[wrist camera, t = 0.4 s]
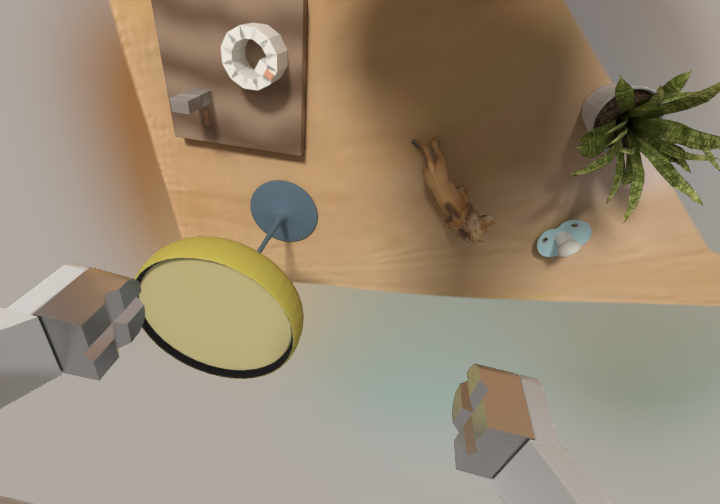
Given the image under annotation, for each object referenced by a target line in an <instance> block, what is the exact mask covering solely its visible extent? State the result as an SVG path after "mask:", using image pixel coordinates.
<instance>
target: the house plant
mask: <svg viewBox="0 0 720 504" xmlns="http://www.w3.org/2000/svg"><path fill="white" fill-rule="evenodd" d="M691 71H692V70H691ZM691 71H690V72H688V73H684V74H681V75H678V76H676V77H675V78H673V79H672V80H670V81H669V82H667V83H666V84H665V85H664V86H663V87H661V86H660V87H659V88H658V89H657V91H656V90H654V89H652V88H649V87H644V86H633V85H629V84H627V83H626V82H625V81H624V80H623V79H622V77H621V76H620V80H619V82H618V84H610V85H605V86H602V87H600V88H598V89H597V90H595V91H594V92H593V93H592V94H591V95H590V96H589V97H588V98H587V99H586V100H585V102H584V104H583V106H582V111H581V114H582V119H583V121H584V124H585V126H586V128H587V130H588V133H587V134H586V135H584V136H583V137H581V138H579V139H576V140H579V141H581V142H583V144H581V145H579V146H577V147H575V146H574V147H575V148H576V149H577V150H578V151H579V152H580V153H581V154H582V155H583V156H585V157H588V158H593V157H595V156H597V155H599V154H600V153H601V152H602V151H605V152H607V153H606V154H604V155H603V156H601V157H600V158H598V159H597V160H595V161H594V162H593V163H592V164H590V165H589V166H587V167H585V168H583V169H580V170H578V171H575V172H574V173H572V174H571V175H569V176H575V175H582V174H586V173H589V172H593V171H595V170H598V169H600V168H602V167H603V166H605V165H607V164H608V163H609V162H610V161H611V160H612V159H613V158H614V156H615V154H617V164H616V171H615V175H614V180H613V185H612V189H611V191H610V194H609V197H608V199H607V203H608V202H609V201H610V199H611V198H612V197H613V196H614V195H615V193H616V192H617V190H618V188H619V186H620V183H621V180H622V184H623V186H624V185H626V184H629V183H631V182H632V184H631V189H630V194H629V205H628V208H627V211H626V213H625V216H624V222H625V221H626V220H627V218H628V217H629V216H630V215H631V213H632V212H633V210H634V208H635V207H636V205H637V203H638V201H639V198H640V196H641V192H642V188H643V184H644V174H645V173H644V169H643V166H642V161H641V155H640V151H641V152H642V153H643V154H644V155H645V156H646V157H647V158H648V159H649V161H650V162H651V163H652V164H653V166H654V167H655V168H656V169H657V170H658V172H659V173H660V174H661V175H662V176H663V177H664V179H665V180H666V181H667V182H668V183H669V184H670V185H671V186H673V187H674V188H676V189H678V190H680V191H681V192H683V193H685V194H687V195H688V196H689V197H690V198H691V199H692V200H693V201H694V202H697V203H699V204H701V205H702V202H701V200H700V198H699V197H698V195H697V193H696V192H695V191H694V189H693V188H692V187H691V186H690V185H689V183H688V182H687V181H686V180H685V179H684V178H683V177H682V176H681V175H680V174H679V173H678V172H677V171H676V169H675V168H674V167H673V165H672V164H671V163H670V162H675V163H677V164H679V165H680V166H682V167H683V169H684V170H686V171H688V172H690V169H689V166H688V164H687V163H686V161H685V160H699V161H700V160H701V161H703V160H704V161H706V160H709V161H710V162H711V163H712V164H713V165H714V166H715V167H716V168H717V169H718V170H719V171H720V169H719V166H718V164H717V163H716V161H715V159H717V158H714V157H713V155H712V153H711V151H710V149H720V137H719V136H716V135H711V134H708V133H704V132H700V131H697V130H694V129H692V128H689V127H688V126H686V125H684V124H681V123H678V122H675V121H671V120H664V119H665V116H666V114H670V113H674V112H679V111H683V110H686V109H690V108H692V107H696V106H698V105H701V104H703V103H705V102H708V101H709V100H710V99H712V98H713V97H714V96H715V95H716V94H717V93H719V92H720V82H719V83H717V84H715V85H713V86H711V87H709V88H707V89H705V90H702V91H698V92H679V91H680V90H681V89H682V88H683V87H684V85H685V83H686V82H687V80H688V78H689V76H690V73H691ZM677 99H678V100H677ZM672 100H674V101H672ZM668 101H671V102H668ZM665 102H667V103H665ZM662 138H664V139H666V140H664V139H662ZM676 143H678V144H681V145H684V146H687V147H688V148H691V149H699V150H703V152H704V153H705V155H706V156H703V155H698V154H691V153H688V152H685V151H684V150H683V149H682V148H681V147H679V146H677V145H674V144H676ZM639 150H640V151H639ZM624 153H626V154H627V161H626V168H625V161H624ZM624 170H625V172H624ZM623 174H624V175H623ZM622 177H623V178H622ZM624 222H623V223H624Z"/></svg>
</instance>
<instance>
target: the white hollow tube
mask: <svg viewBox="0 0 720 504" xmlns="http://www.w3.org/2000/svg"><path fill="white" fill-rule="evenodd" d="M249 39H252V40H254V41H255V42H256V43H258V44H259V45H260V46H261V47H262V49H263V51H264V53H265V55H266V57H265V58H262V59H260V60H259V62H258V64H257V66H256V68H255V69H254V68H253V67H251V66H250V64H249V62H248V60H247V58H246V53H245V46H246V44H247V42H248V40H249ZM221 56H222V64H223V66H224V68H225V70H226V71H227V73H228V75H229V77H230V78H231V79H232V80H233V81H234V82H236V83H237V84H238V85H240V86H241V87H242V88H244V89H251V90H260V89H262V88H264V87H266V86H268V85H270V84H272V83H273V82H275V81H277V80H278V79H280V78H281V77H282V75H283V73H284V71H285V70H286V68H287V66H288V55H287V48H286V46H285V44H284V42H283V40H282V37H281V35H280V34H279V33H277V32H276V31H275V30H274V29H272V28H271V27H270V26H269V25H267V24H260V23H248V24H243V25H239V26H237V27H235V28H234V29H232V30H230V31H228V32H227V33H226V35H225V38H224V40H223V42H222V45H221Z"/></svg>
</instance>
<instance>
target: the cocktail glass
mask: <svg viewBox="0 0 720 504" xmlns="http://www.w3.org/2000/svg"><path fill="white" fill-rule="evenodd" d="M251 212H252V216H253V218H254V220H255V222H256V223H257V225H258V226H259V227H260V228H261V229H262V230H263V231H264V232H265V233H267V236H266V237H265V239H264V240H263V242H262V244H261V245H260V247H259V248H258V250H257V251H256V250H254V249H252V248H250V247H248V246H246V245H243V244H241V243H238V242H235V241H231V240H228V239H223V238H217V237H204V236H199V237H191V238H185V239H182V240H178V241H176V242H173V243H171V244H169V245H167V246H165V247H163V248H162V249H160V250H159V251H157V252H156V253H155V254H154V255H153V256H152V257H151V258H150V259H149V260H147V261H146V263H145V264H144V265H143V266H142V268H141V269H140V271H139V272H138V274H137V275H136V277H135V280H138V281H139V282H140V287H141V291H142V292H141V293H140V294H139V295H138V296H137V297H138V299H139V300H140V301H141V302H142V303H143V304H144V307H145V319H144V323H143V325H142V328H143V329H144V331H145V332H146V333H147V335H148V336H149V337H150V338H151V339H152V340H153V341H154V342H155V343H156V344H157V345H158V346H159V347H160V348H162V349H163V350H164V351H165V352H167V353H168V354H169V355H171V356H172V357H174V358H175V359H177V360H179V361H180V362H182V363H184V364H186V365H188V366H190V367H192V368H194V369H197V370H199V371H203V372H206V373H208V374H212V375H216V376H220V377H226V378H235V379H236V378H237V379H247V378H256V377H260V376H265V375H267V374H270V373H272V372H274V371H276V370H277V369H279V368H281V367H282V366H283V365H284V364H285V363H286V362H287V361H288V360H289V358H290V357H291V355H292V354H293V352H294V351H295V349H296V347H297V345H298V341H299V339H300V336H301V333H302V328H303V309H302V303H301V301H300V298H299V295H298V292H297V291H296V289H295V287H294V285H293V283H292V282H291V281H290V279H289V278H288V277H287V275H286V274H285V273H284V272H283V271H282V270H281V269H280V268H279V267H278V266H277V265H276V264H275V263H274V262H272V261H271V260H270V259H268V258H267V257H266V256H264V255H263V254H261V252H262V251H263V249H264V248H265V246H266V244H267V243H268V241H269V240H270V238H271V237H273V238H276V239H278V240H282V241H298V240H301V239H304V238H305V237H307V236H308V235H310V234H311V233H312V231H313V230H314V228H315V226H316V223H317V210H316V206H315V204H314V202H313V200H312V199H311V197H310V196H309V195H308V194H307V192H305V191H304V190H303V189H302V188H300V187H299V186H297V185H295V184H293V183H290V182H287V181H270V182H267V183H264V184H263V185H261V186H260V187H259V188H257V189H256V191H255V192H254V194H253V196H252V199H251Z"/></svg>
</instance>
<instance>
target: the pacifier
mask: <svg viewBox="0 0 720 504" xmlns="http://www.w3.org/2000/svg"><path fill="white" fill-rule="evenodd" d="M572 224H578V226H576V227H573V226H571V225H572ZM591 234H592V229H591V227H590V226H589V225H588V224H587V223H586V222H584V221H582V220H578V219H572V220H567V221H565V222H563V223H562V224H561V225H560V226H559V227H557V228H555V229H549V230H547V231H545V232H544V233H542V234H541V236H540V237H539V239H538V241H537V249H538V252H539V253H540V254H541V255H543V256H545V257H557V256H560V257H567V256H570V255H573V254H575V253H576V252H578V251H579V250H580V248H581V247H582V246H583V245H584V244H585V243H586V242H587V240H589V238H590V237H591ZM544 238H547V241H546V242H542V240H543V239H544Z"/></svg>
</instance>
